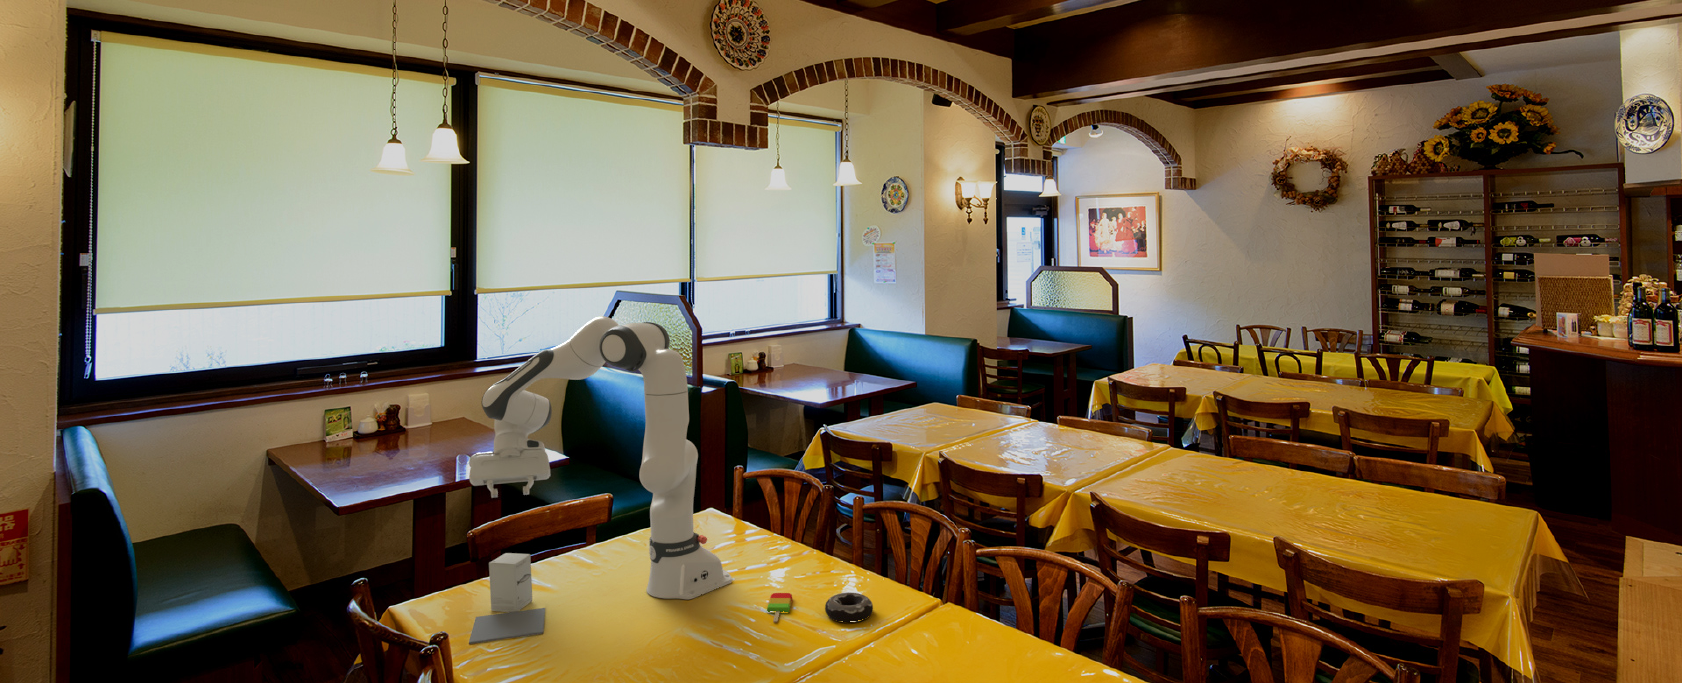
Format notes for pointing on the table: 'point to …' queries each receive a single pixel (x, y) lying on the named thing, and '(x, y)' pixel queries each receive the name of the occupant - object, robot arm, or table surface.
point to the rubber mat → (507, 625)
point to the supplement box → (510, 582)
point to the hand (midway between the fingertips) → (510, 495)
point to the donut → (848, 607)
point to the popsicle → (779, 603)
